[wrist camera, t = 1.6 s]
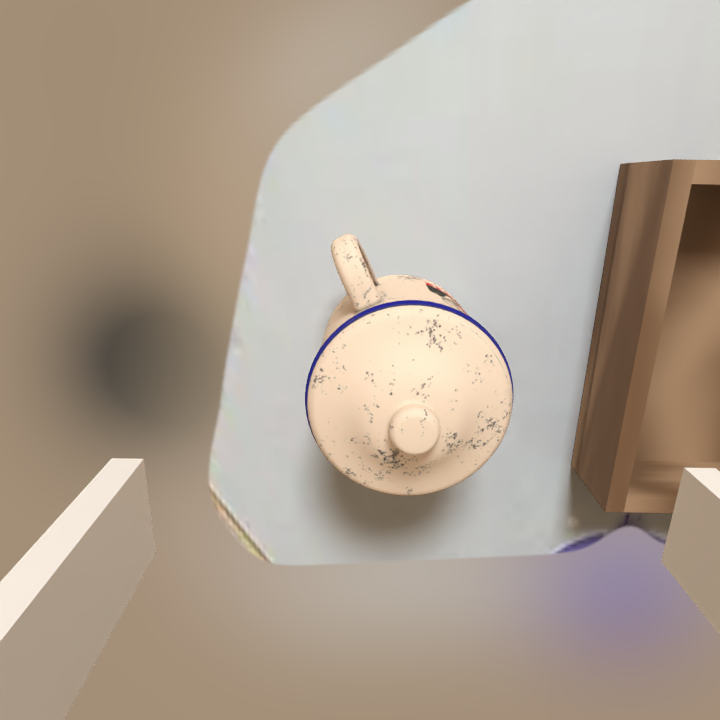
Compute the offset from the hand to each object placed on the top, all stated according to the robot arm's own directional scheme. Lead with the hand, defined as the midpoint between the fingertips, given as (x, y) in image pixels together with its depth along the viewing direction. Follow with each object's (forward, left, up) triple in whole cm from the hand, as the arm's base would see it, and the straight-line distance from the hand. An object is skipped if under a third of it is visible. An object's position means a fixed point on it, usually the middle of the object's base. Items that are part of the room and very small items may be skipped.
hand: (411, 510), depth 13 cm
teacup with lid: (0, 0, -19) cm, 19 cm away
